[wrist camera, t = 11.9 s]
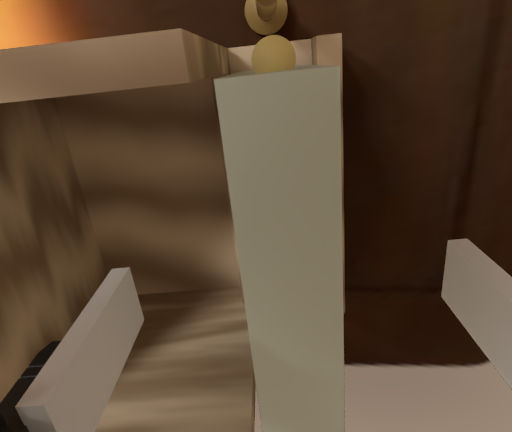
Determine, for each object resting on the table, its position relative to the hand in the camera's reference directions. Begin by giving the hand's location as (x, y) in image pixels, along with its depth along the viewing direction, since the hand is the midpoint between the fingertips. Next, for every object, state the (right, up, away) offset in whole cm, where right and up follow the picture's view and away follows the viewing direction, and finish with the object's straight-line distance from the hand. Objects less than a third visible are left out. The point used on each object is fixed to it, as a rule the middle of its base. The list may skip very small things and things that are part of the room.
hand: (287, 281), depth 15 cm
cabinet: (-6, +6, +14) cm, 16 cm away
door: (0, +5, +12) cm, 13 cm away
